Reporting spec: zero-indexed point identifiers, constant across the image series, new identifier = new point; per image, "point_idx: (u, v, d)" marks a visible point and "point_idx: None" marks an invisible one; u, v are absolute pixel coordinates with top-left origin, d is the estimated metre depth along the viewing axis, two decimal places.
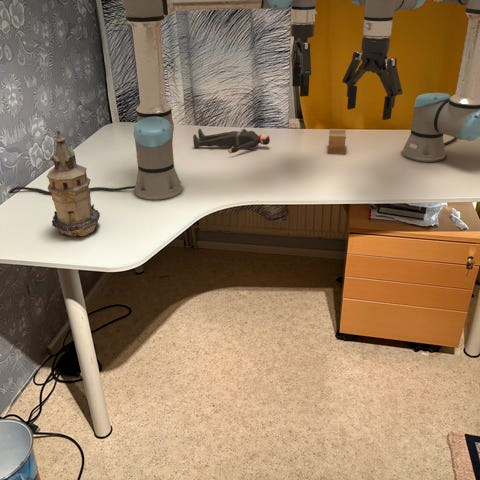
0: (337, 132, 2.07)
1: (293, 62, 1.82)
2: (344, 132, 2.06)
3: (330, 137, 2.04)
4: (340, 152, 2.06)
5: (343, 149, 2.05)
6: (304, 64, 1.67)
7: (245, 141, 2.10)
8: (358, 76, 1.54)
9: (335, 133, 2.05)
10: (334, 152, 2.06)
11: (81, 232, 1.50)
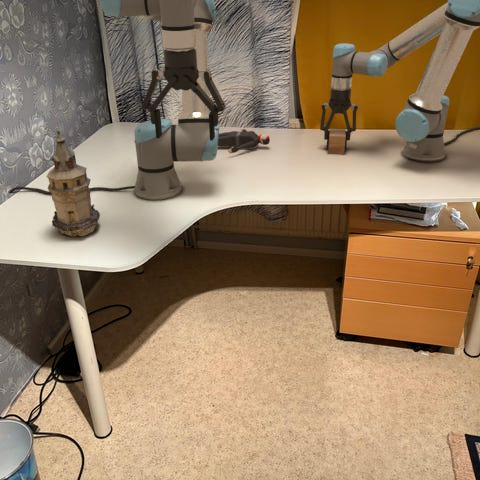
0: (337, 132, 2.07)
1: (152, 106, 1.29)
2: (344, 132, 2.06)
3: (330, 137, 2.04)
4: (340, 152, 2.06)
5: (343, 149, 2.05)
6: (218, 97, 1.26)
7: (245, 141, 2.10)
8: None
9: (335, 133, 2.05)
10: (334, 152, 2.06)
11: (81, 232, 1.50)
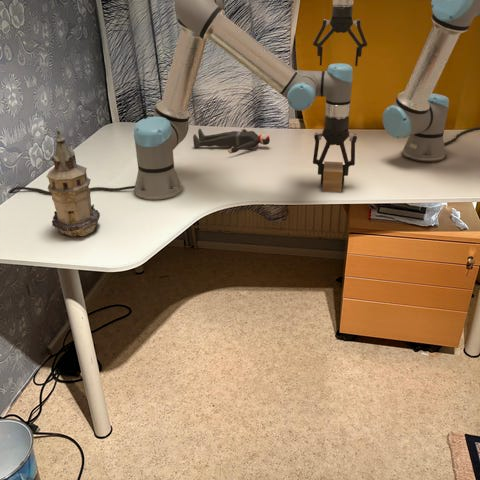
0: (333, 166, 1.76)
1: (320, 162, 1.75)
2: (341, 166, 1.76)
3: (324, 172, 1.73)
4: (336, 190, 1.75)
5: (340, 186, 1.75)
6: (354, 155, 1.72)
7: (245, 141, 2.10)
8: None
9: (331, 168, 1.75)
10: (329, 190, 1.76)
11: (81, 232, 1.50)
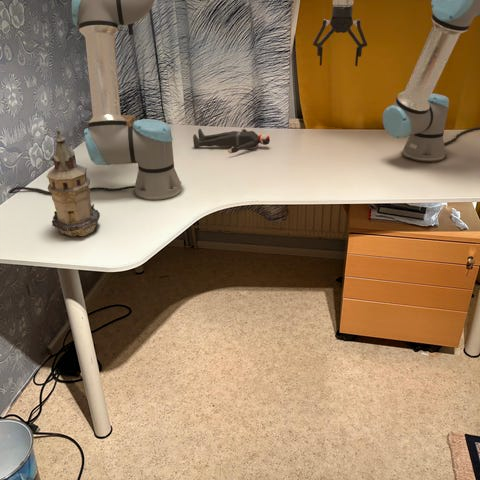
0: (125, 118, 2.27)
1: None
2: (130, 118, 2.26)
3: None
4: None
5: None
6: None
7: (245, 141, 2.10)
8: None
9: None
10: None
11: (81, 232, 1.50)
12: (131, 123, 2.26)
